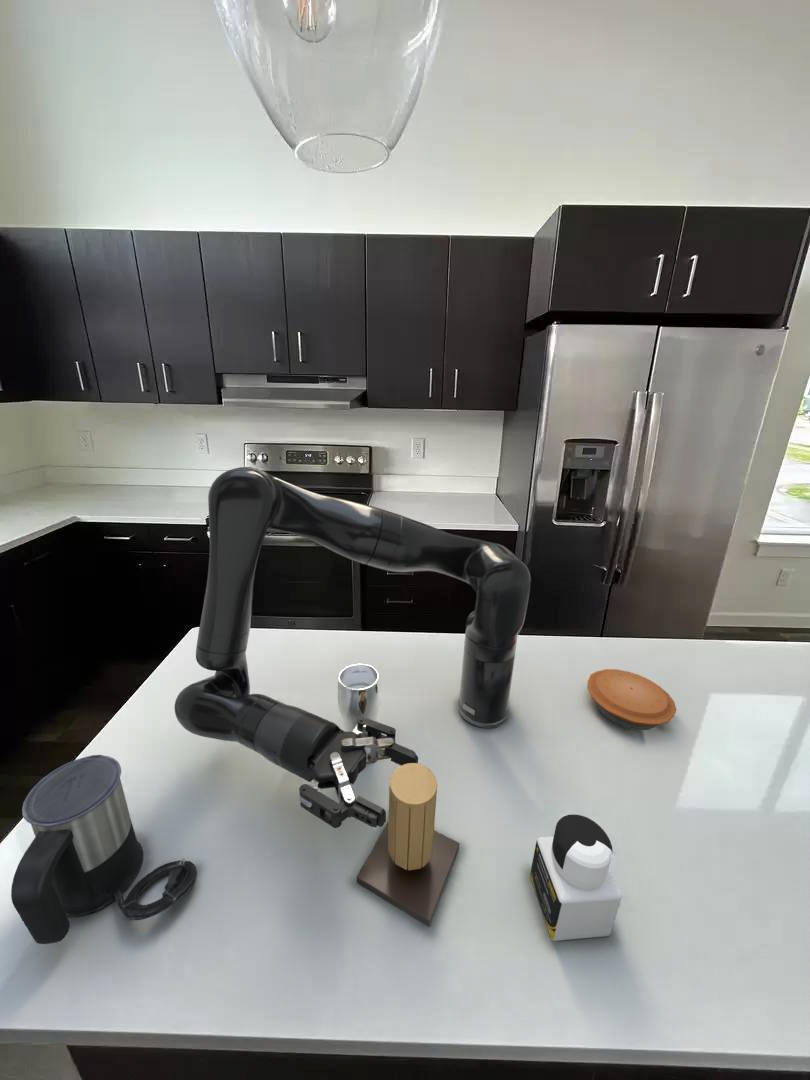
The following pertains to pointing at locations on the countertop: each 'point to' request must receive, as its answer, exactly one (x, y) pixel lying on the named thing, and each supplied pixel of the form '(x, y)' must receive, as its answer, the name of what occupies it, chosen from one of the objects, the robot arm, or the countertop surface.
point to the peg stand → (409, 877)
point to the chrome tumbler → (358, 695)
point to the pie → (630, 699)
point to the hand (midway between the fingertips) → (401, 789)
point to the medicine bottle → (575, 880)
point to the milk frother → (85, 852)
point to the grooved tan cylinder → (411, 815)
